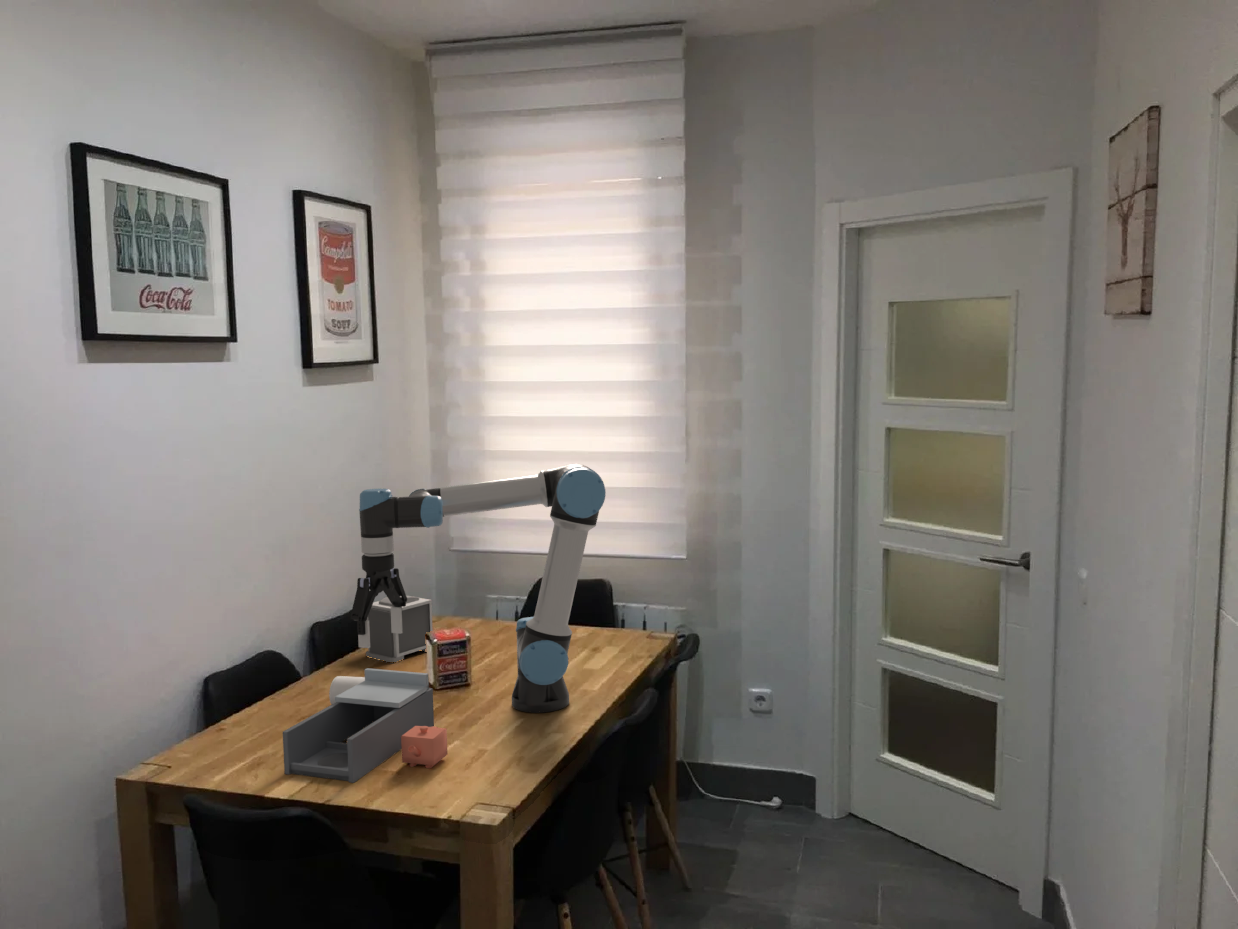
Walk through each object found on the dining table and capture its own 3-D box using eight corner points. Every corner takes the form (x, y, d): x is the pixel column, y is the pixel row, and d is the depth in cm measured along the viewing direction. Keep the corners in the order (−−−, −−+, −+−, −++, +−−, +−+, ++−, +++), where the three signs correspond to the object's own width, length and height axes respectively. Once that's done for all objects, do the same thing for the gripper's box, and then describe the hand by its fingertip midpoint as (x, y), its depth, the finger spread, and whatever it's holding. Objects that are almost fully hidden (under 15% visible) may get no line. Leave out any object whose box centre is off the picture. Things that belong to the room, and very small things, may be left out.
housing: (434, 726, 239) (432, 688, 238) (353, 782, 206) (351, 739, 205) (372, 719, 245) (371, 683, 244) (284, 774, 211) (282, 731, 210)
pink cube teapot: (394, 772, 211) (393, 736, 210) (420, 752, 223) (419, 717, 222) (427, 776, 209) (426, 739, 208) (451, 755, 221) (450, 720, 220)
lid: (428, 689, 237) (428, 673, 237) (399, 708, 224) (398, 691, 223) (367, 683, 242) (367, 668, 242) (335, 701, 229) (334, 685, 229)
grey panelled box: (409, 643, 316) (407, 588, 314) (437, 649, 308) (435, 593, 306) (364, 657, 301) (361, 599, 299) (392, 664, 293) (390, 604, 292)
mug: (365, 713, 250) (363, 683, 249) (329, 711, 252) (328, 681, 251) (385, 698, 261) (384, 669, 261) (351, 696, 263) (350, 667, 263)
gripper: (393, 544, 245) (396, 626, 247) (332, 562, 222) (336, 652, 223) (419, 545, 242) (422, 628, 244) (359, 563, 219) (363, 655, 221)
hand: (381, 640), depth 234 cm, fingers open, 13 cm apart
